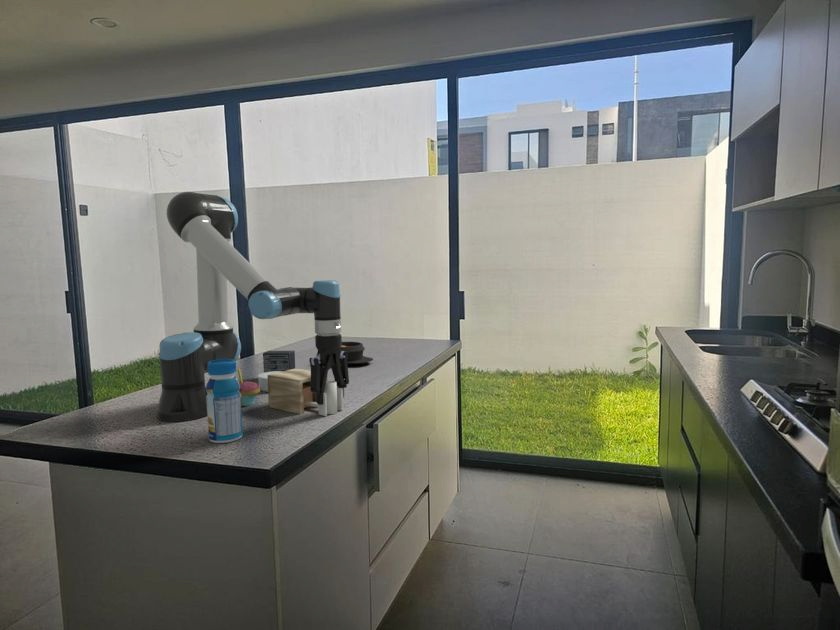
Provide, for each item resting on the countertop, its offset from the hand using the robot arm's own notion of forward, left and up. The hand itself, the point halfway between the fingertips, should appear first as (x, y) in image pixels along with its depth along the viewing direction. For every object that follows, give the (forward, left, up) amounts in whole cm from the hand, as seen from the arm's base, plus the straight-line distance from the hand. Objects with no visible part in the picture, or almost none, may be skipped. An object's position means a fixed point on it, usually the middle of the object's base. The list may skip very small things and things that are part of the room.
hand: (331, 411), depth 160 cm
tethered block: (0, +7, 0) cm, 8 cm away
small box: (+23, +49, -1) cm, 54 cm away
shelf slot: (0, +14, 0) cm, 14 cm away
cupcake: (-7, +30, -1) cm, 31 cm away
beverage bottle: (-31, +7, -1) cm, 32 cm away
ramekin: (+11, +38, -1) cm, 39 cm away
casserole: (+58, +48, -1) cm, 75 cm away
